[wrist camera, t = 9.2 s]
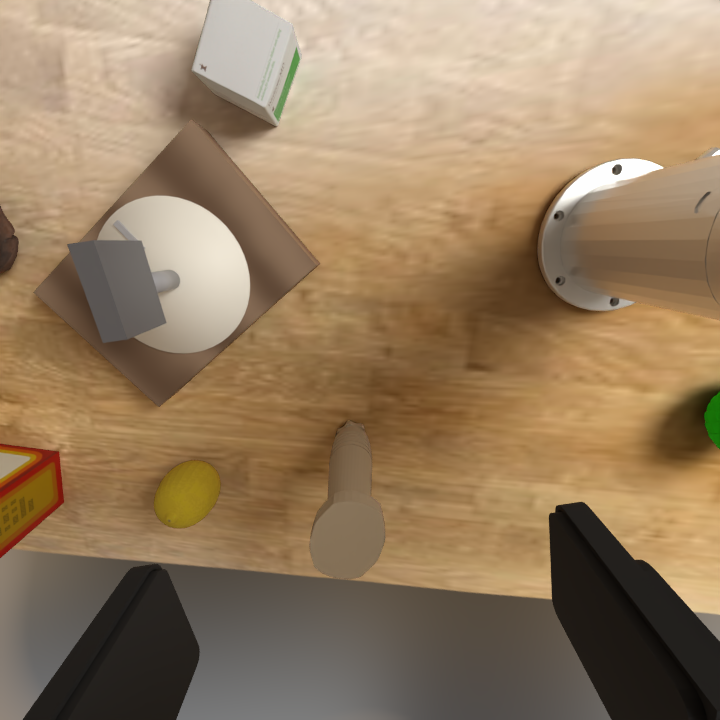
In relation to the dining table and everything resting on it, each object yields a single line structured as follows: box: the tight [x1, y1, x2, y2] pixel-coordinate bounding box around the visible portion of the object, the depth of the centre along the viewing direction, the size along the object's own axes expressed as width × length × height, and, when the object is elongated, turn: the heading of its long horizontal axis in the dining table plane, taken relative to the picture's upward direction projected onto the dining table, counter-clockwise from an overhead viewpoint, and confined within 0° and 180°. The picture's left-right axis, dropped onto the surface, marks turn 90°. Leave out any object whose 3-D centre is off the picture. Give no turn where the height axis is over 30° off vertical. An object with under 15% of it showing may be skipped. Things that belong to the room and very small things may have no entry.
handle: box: [310, 421, 385, 579], centre depth 32 cm, size 5×6×15 cm
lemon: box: [154, 460, 221, 528], centre depth 37 cm, size 6×6×8 cm
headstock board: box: [33, 119, 320, 407], centre depth 33 cm, size 20×14×3 cm
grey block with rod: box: [67, 240, 180, 343], centre depth 27 cm, size 6×7×9 cm
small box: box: [192, 0, 302, 127], centre depth 28 cm, size 6×6×5 cm
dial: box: [97, 196, 250, 353], centre depth 32 cm, size 13×13×1 cm
